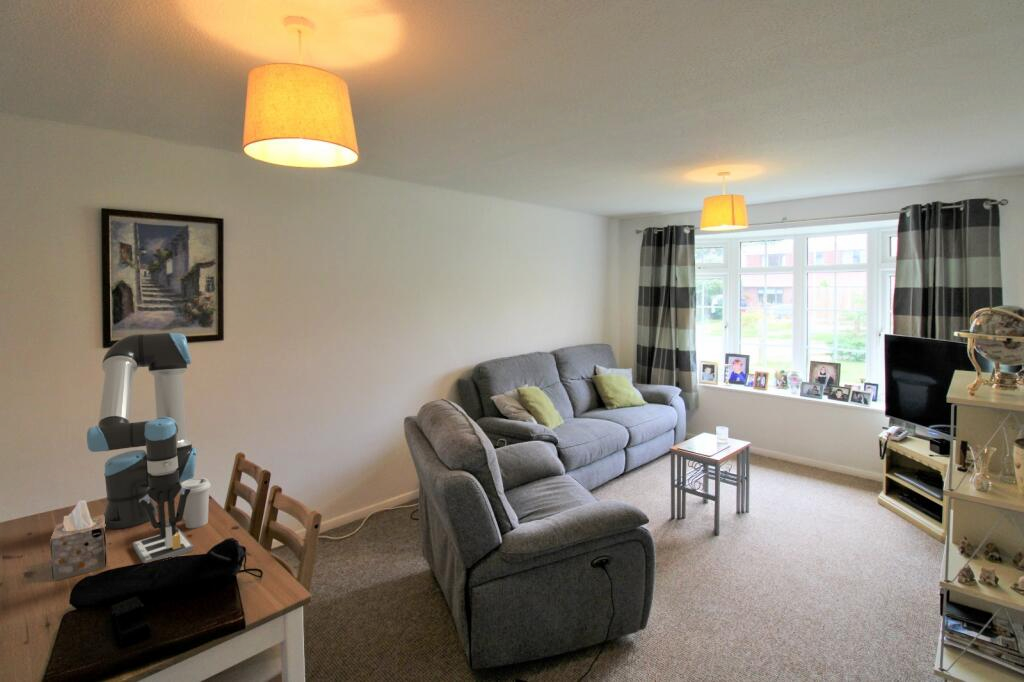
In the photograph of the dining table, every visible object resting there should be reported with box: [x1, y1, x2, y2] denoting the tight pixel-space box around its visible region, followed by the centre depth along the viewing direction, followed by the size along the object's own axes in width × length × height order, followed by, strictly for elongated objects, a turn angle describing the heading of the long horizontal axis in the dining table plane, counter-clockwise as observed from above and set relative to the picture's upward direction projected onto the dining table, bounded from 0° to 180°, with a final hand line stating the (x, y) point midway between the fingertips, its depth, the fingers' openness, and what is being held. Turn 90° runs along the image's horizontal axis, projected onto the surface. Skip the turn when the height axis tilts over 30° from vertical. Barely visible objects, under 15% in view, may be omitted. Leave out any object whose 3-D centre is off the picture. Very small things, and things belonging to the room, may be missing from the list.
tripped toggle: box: [171, 532, 181, 550], centre depth 156 cm, size 2×2×4 cm
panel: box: [132, 520, 194, 564], centre depth 158 cm, size 16×12×6 cm
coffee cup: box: [178, 477, 212, 529], centre depth 174 cm, size 10×10×15 cm
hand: (168, 546), depth 155 cm, fingers closed
